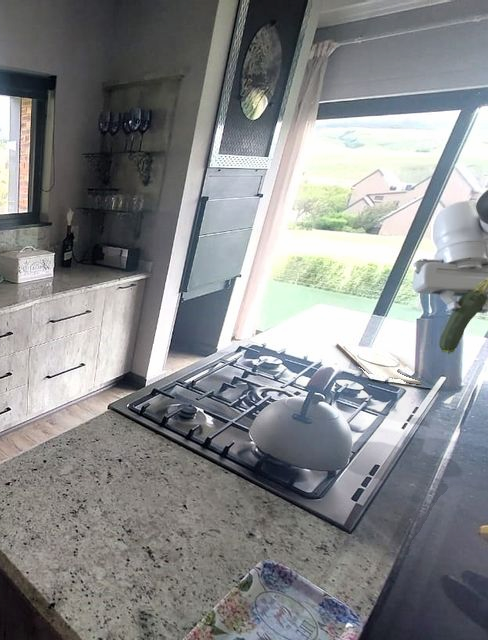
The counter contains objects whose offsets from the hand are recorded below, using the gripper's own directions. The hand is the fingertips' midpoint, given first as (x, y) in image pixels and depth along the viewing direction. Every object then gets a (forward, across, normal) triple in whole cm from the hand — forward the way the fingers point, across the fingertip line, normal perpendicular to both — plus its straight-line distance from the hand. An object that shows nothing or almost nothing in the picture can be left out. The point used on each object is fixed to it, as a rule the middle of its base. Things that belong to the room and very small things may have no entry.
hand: (468, 310), depth 99 cm
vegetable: (+8, 0, +9) cm, 12 cm away
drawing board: (+4, 0, +29) cm, 29 cm away
